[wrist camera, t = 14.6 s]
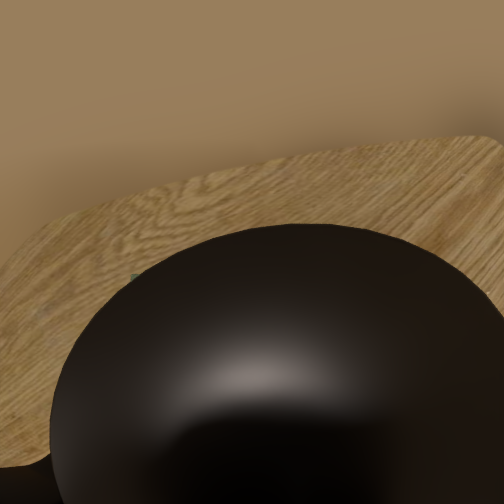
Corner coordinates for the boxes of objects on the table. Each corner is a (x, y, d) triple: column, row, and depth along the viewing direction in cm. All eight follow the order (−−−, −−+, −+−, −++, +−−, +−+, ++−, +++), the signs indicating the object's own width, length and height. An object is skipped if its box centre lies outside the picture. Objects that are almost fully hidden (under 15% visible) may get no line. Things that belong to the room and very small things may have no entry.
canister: (353, 433, 14) (476, 588, 1) (226, 438, 14) (99, 602, 2) (350, 311, 15) (519, 214, 3) (222, 317, 16) (46, 242, 4)
